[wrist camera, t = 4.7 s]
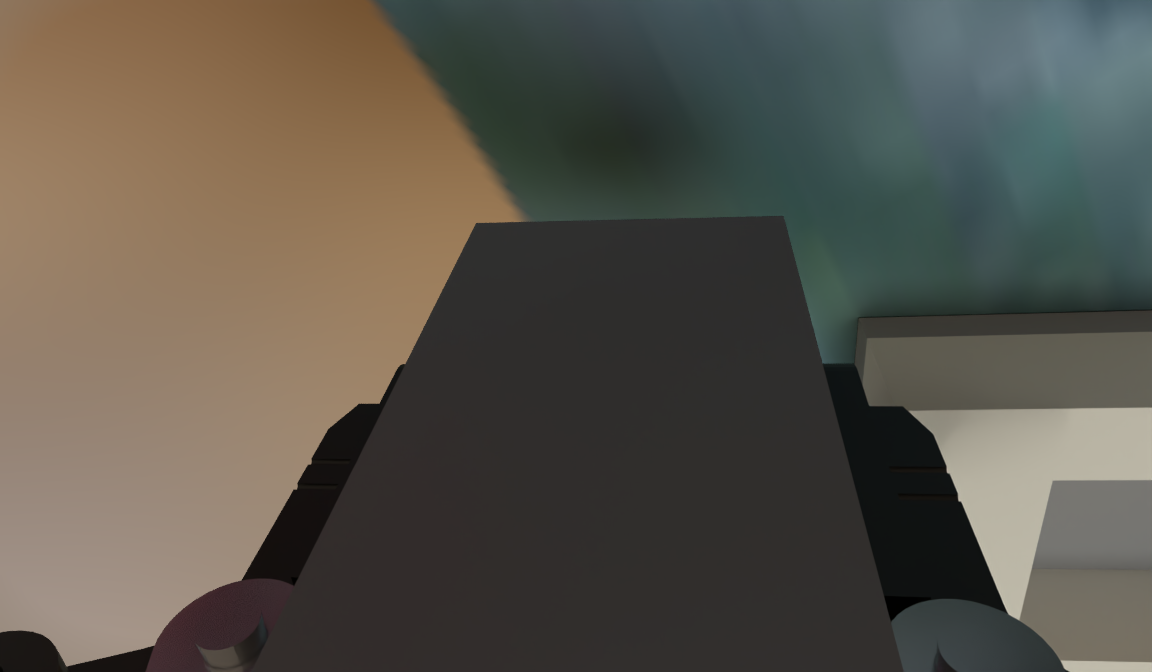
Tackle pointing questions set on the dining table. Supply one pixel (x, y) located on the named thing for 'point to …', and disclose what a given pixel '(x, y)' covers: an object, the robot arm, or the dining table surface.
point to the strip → (1041, 460)
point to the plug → (601, 472)
